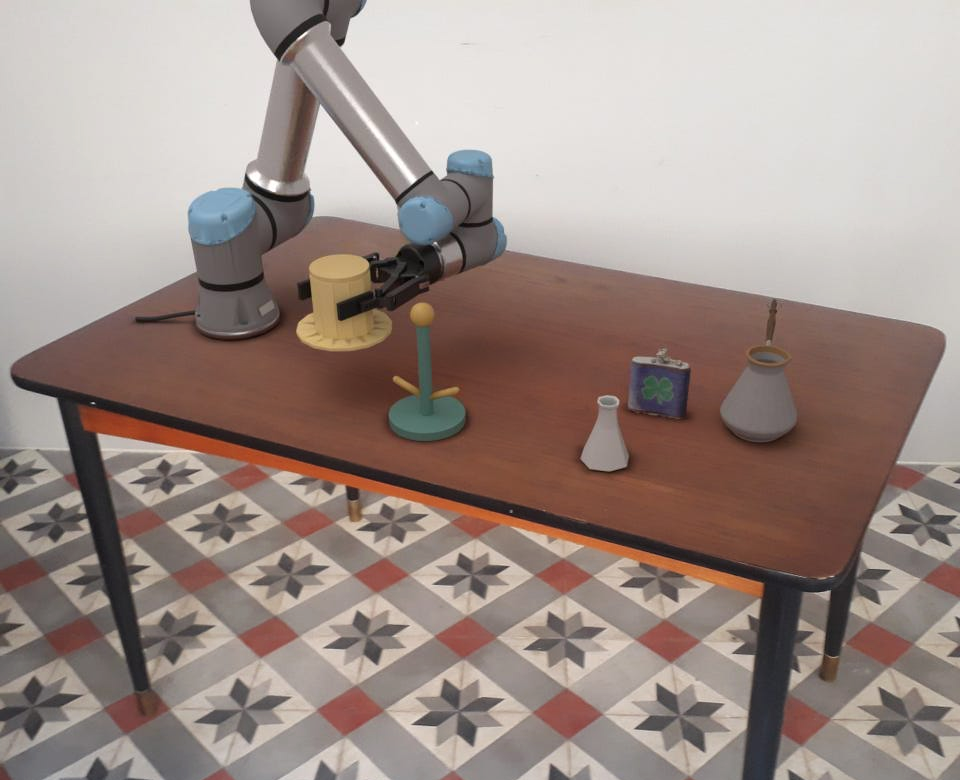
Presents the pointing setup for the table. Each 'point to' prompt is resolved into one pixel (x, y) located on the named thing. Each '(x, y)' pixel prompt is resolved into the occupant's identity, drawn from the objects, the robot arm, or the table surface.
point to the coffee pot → (761, 393)
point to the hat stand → (426, 393)
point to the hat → (328, 287)
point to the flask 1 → (606, 439)
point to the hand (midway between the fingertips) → (318, 302)
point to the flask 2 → (659, 386)
